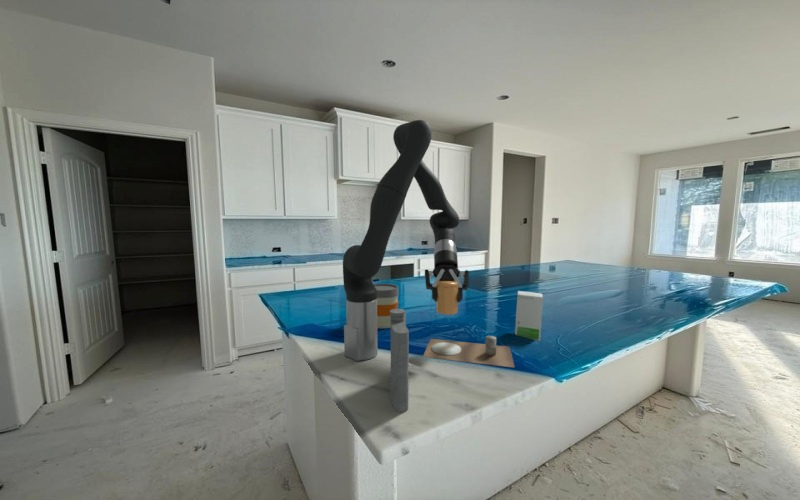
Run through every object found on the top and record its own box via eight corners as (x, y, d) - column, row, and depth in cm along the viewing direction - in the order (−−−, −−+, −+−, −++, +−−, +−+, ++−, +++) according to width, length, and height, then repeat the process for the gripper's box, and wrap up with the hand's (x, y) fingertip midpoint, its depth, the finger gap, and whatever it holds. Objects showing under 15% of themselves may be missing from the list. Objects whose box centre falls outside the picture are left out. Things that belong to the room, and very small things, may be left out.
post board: (509, 351, 95) (510, 331, 94) (514, 372, 82) (515, 349, 81) (430, 343, 101) (430, 324, 101) (422, 361, 88) (422, 340, 87)
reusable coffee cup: (398, 330, 113) (398, 290, 112) (365, 330, 113) (364, 290, 112) (399, 319, 126) (399, 283, 124) (368, 319, 126) (368, 283, 124)
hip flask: (408, 412, 65) (409, 321, 63) (389, 412, 65) (389, 321, 63) (405, 374, 81) (405, 301, 79) (389, 375, 81) (389, 301, 79)
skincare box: (514, 338, 106) (516, 294, 104) (515, 332, 112) (516, 290, 110) (541, 342, 102) (543, 296, 101) (540, 335, 109) (542, 292, 107)
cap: (449, 315, 88) (450, 285, 87) (432, 311, 92) (433, 282, 91) (460, 311, 92) (461, 282, 91) (443, 307, 96) (444, 279, 95)
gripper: (423, 248, 98) (423, 293, 87) (469, 249, 97) (473, 294, 86) (423, 262, 104) (423, 306, 93) (466, 263, 103) (470, 307, 92)
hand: (447, 300), depth 90 cm, fingers closed on cap, 6 cm apart
